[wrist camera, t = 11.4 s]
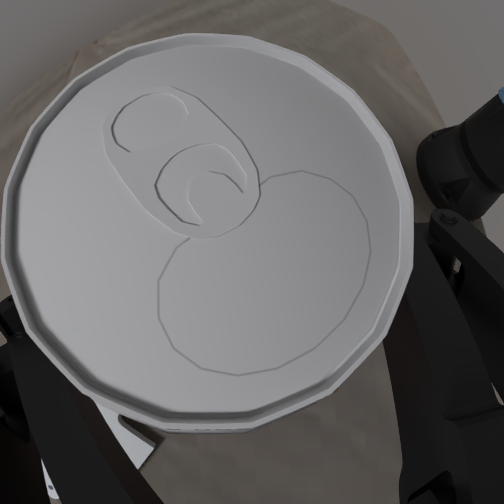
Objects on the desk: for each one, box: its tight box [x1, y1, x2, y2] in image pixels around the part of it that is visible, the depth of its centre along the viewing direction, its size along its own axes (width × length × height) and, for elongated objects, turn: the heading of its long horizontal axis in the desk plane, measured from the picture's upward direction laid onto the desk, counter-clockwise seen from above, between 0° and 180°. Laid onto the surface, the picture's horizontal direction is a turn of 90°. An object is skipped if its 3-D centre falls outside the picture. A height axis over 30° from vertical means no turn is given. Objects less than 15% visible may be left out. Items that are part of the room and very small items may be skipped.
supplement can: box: [1, 33, 414, 434], centre depth 12 cm, size 8×8×15 cm
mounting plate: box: [41, 401, 156, 499], centre depth 27 cm, size 18×13×2 cm
